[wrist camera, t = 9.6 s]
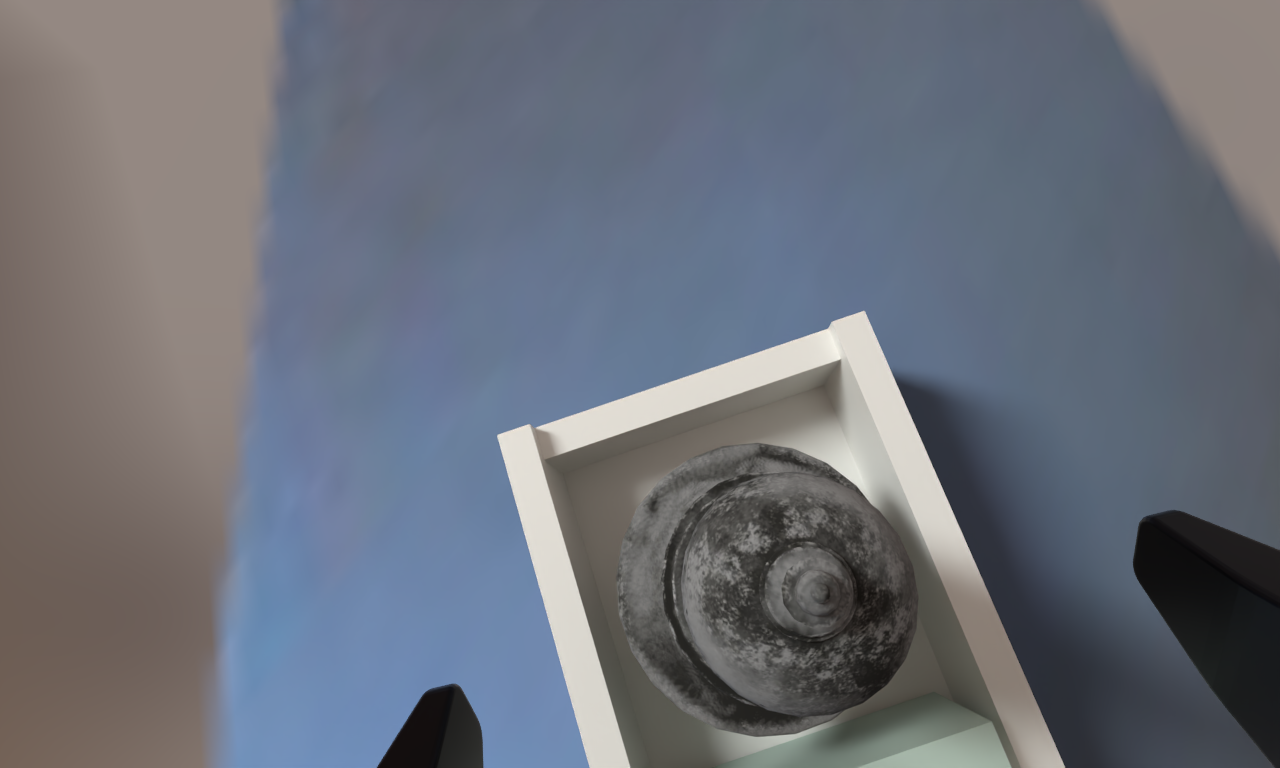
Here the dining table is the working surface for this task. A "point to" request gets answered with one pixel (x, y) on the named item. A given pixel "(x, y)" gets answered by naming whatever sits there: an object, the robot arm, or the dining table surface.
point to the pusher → (893, 741)
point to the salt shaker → (764, 591)
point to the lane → (775, 415)
